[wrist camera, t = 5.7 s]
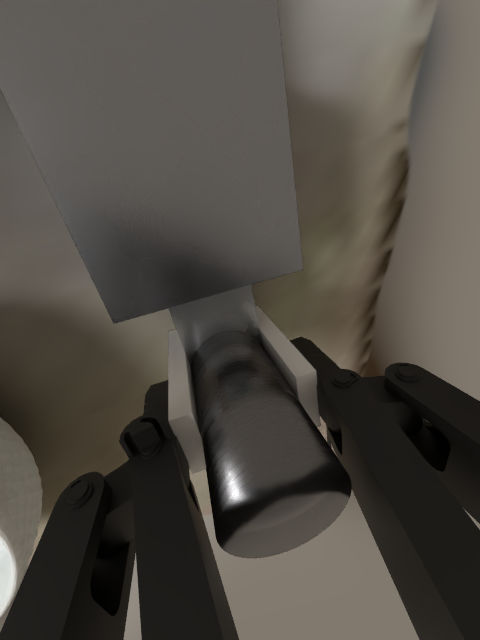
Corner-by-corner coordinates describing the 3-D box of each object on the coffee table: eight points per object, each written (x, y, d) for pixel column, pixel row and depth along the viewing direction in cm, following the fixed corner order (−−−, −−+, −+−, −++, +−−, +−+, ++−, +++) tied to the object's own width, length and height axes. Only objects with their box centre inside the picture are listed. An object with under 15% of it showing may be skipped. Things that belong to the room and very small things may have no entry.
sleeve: (135, 277, 14) (113, 323, 9) (62, 96, 11) (-54, -25, 5) (253, 246, 15) (303, 269, 10) (222, 70, 12) (272, -55, 6)
